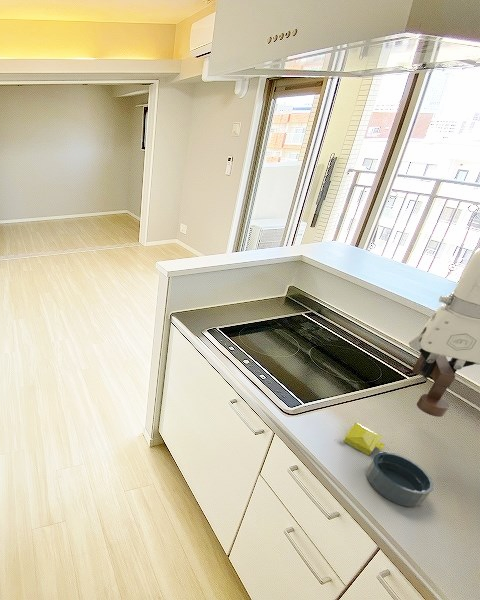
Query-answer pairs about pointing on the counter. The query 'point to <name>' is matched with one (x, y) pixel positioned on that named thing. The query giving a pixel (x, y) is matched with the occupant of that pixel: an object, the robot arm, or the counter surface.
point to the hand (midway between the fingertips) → (433, 376)
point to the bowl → (399, 479)
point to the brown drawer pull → (435, 386)
